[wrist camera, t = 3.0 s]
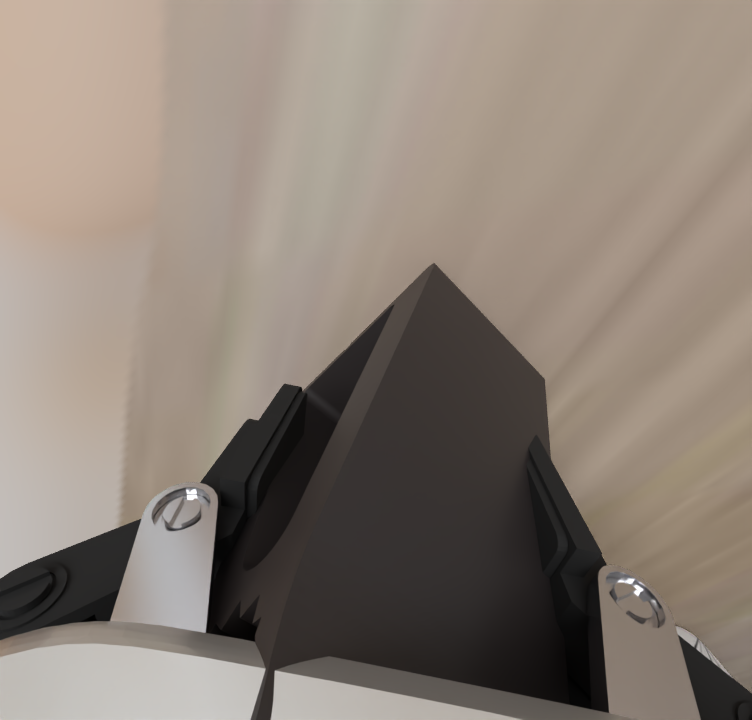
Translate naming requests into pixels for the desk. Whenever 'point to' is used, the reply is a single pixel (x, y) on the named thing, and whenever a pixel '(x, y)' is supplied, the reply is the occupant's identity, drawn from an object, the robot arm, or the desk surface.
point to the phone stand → (406, 513)
